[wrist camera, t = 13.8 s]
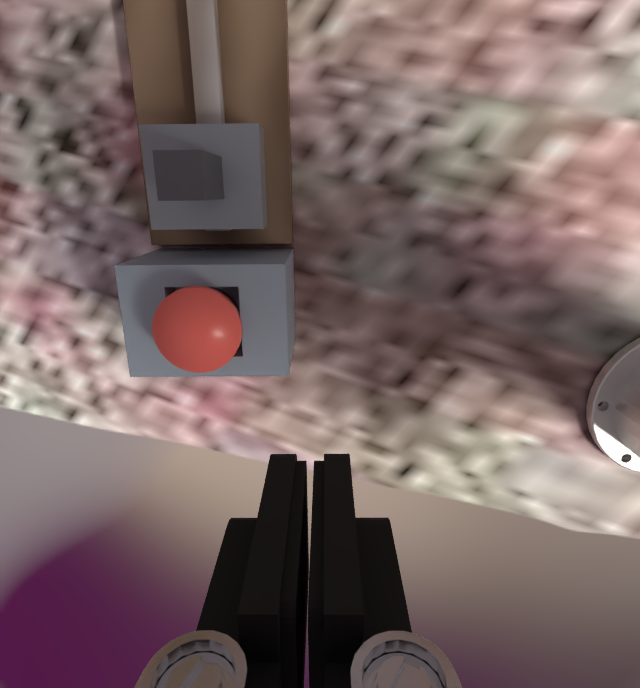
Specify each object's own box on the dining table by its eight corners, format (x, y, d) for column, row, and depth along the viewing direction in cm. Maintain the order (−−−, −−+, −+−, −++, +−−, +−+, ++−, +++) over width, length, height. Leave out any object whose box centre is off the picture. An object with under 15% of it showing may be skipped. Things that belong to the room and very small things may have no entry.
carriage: (265, 130, 31) (244, 108, 23) (269, 225, 32) (251, 236, 24) (158, 131, 31) (100, 110, 23) (168, 225, 32) (118, 237, 25)
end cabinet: (293, 248, 35) (284, 264, 27) (295, 337, 37) (288, 375, 29) (159, 249, 35) (113, 265, 27) (169, 338, 37) (130, 376, 30)
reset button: (248, 275, 29) (237, 287, 26) (252, 351, 31) (242, 372, 27) (168, 276, 29) (146, 288, 26) (176, 351, 31) (157, 372, 27)
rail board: (282, -179, 27) (274, -248, 23) (293, 241, 35) (288, 248, 30) (111, -176, 27) (72, -244, 23) (158, 242, 35) (135, 249, 31)
